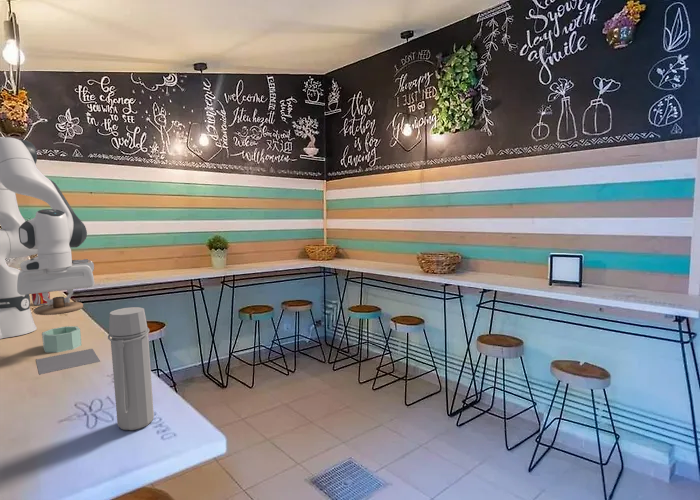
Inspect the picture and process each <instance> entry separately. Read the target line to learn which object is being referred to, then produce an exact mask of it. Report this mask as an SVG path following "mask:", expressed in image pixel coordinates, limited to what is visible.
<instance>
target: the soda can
mask: <svg viewBox="0 0 700 500" xmlns="http://www.w3.org/2000/svg"><path fill="white" fill-rule="evenodd" d="M47 297H48V298H49V299H51V292H48V296H47ZM31 303H32V304H33V305H34V306H43V305H47V300H46V299H45V298H44V297H43V295H42V293H35V294H31Z"/></svg>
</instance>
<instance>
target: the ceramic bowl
mask: <svg viewBox="0 0 700 500" xmlns="http://www.w3.org/2000/svg"><path fill="white" fill-rule="evenodd" d="M81 333H82V332H81V328H80V327H79V326H73V325H72V326H69V325H68V326H61V327H56V328H50V329H47V330H46V331H43V332H42V333H41V336H42V345H43V346H42V347H43V350H44V352H45V353H61V352H66V351H71V350H74V349H77V348H79V347H81V346H82V335H81Z"/></svg>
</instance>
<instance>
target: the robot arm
mask: <svg viewBox="0 0 700 500" xmlns="http://www.w3.org/2000/svg"><path fill="white" fill-rule="evenodd" d="M37 152H38V151H37V149H36V145H34V144H33V142H31V141H28V140H26V139H22V138H21V139H20V138H19V139H18V138H15V137H10V136H9V137H8V136H7V137H5V136H0V227H1V228H0V340H1V339H5V338H11V337H17V336H23V335H26V334H29V333H32V332H36V331H37V329H38V327H37V325H36V324H35V321H34V318H33V315H32V311H31V295H32V294H35V293H42V295H43V297H44V298H45V299H46V300H47V304H46V305H48V306H53V298H50V299H49V298H48V297H47V296H48V292H49V293H51V292H60V291H66V292H67V296H66V297H64V304H69V303H70V302H71V301H70V299H71V297H72V296H73V294H74V290H78V289H80V290H81V289H88V288H89V289H90V288H93V287H94V285H95V284H96V283H95V278H94V273H93V272H94V270H95V263H94V262H93V261H92V260H91V259H90V260H89V259H85V258H84V259H74V260H73V258H72V257H73V256H72V248H78V247H80V246H81V245H82V244H83V243H84V242H85V240H86V239H87V236H88V231H87V228H86V225H85V224H84V222H83V221H82V220H81V219H80V218H79V217H78V215H77V214H76V213H75V211H74V209H73V208H72V207H71V205H70V204H69V201H68V200H67V199H66V197H65V195H64V194H63V192H62V190H61V189H60V187H59V186H58V185H57V184H56V183H55V181H53V180H52V179H50V178H48V177H47V176H45V175H44V174H43V173H42V172H41V170H39V168H38V167H37V165H36V164H37V160H38V153H37ZM17 194H19V195H22V196H26V197H31V198H35V199H38V200H40V201H43V202H45V203H46V204H47V205H49V207H50V208H44V209H40V210H37V211H36V212H35V217H33V218H31V219H29V220H26V219H25V218H24V217H23V215H22V213H21V211H20V209H19V205H18V200H17ZM34 255H37V256H35V257H33V258H30V259H27V260H24V261H21V262H20V265H19V266H20V269H19V268H16V267H12V266H9V265H8V264H7V261H6V260H7V259H16V258H17V259H18V258H24V257H25V258H26V257H30V256H34Z"/></svg>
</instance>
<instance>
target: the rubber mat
mask: <svg viewBox="0 0 700 500" xmlns="http://www.w3.org/2000/svg"><path fill="white" fill-rule="evenodd" d="M35 361H36V367H37V371H38V375H44V374H48V373H53V372H58V371H63V370H68V369H72V368H77V367H81V366H86V365H91V364H97V363H101V360H100V357H98V355H97V353H96V352H95V350H94V349H93V348H88V349H83V350H78V351H72V352H68V353H61V354H58V355H52V356H47V357H43V358H42V357H41V358H37V359H35Z"/></svg>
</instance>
